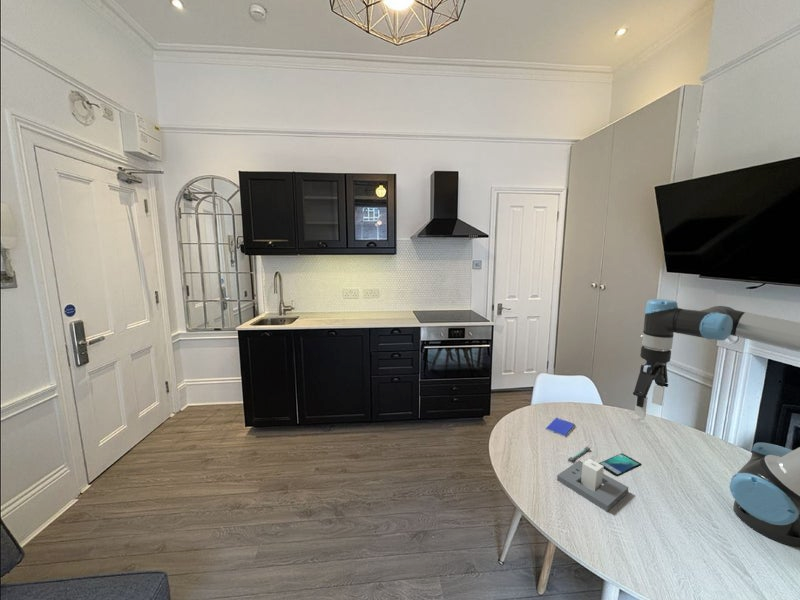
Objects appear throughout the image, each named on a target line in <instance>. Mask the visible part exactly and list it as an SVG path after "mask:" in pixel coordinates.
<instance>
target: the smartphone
mask: <svg viewBox="0 0 800 600" xmlns="http://www.w3.org/2000/svg"><path fill="white" fill-rule="evenodd" d="M598 463H599V464H600V465H602V466H604V468H603V470H605V471H606V472H607V473H610V474H611V475H613V476H615V477H619V476H621V475H623V474H625V473H628V472H629V471H631V470H634V469H636V468H637V467H641V462H639V461H637V460H636V459H634V458H632V457H630V456H628V455H626V454H624V453H619V454H616V455H614V456H612V457H609V458H608V459H605V460H602V461H601V462H598Z"/></svg>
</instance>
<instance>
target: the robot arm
mask: <svg viewBox="0 0 800 600" xmlns="http://www.w3.org/2000/svg"><path fill="white" fill-rule="evenodd" d="M675 333H676V334H681V335H687V336H692V337H697V338H702V339H706V340H716V341H726V340H727V339H728V338H729V337H730V336H733V337H738V338H742V339H746V340H750V341H755V342H759V343H763V344H767V345H771V346H774V347H779V348H783V349H786V350H791V351H795V352H798V353H799V352H800V322H798V321H793V320H787V319H783V318H778V317H772V316H767V315H762V314H758V313H752V312H748V311H747V312H746V311H742V310H737V309H734V308H732V307H731V306H726V305H718V306H716V305H715V306H712V307H709V308H706V309H701V310H696V309H688V308H687V309H685V308H681V307H679V306H678V302H677V301H675V300H670V299H662V298H657V299H654V298H652V299H649V300H648V301H647V302H646V307H645V312H644V321H643V331H642V334H641V335H640V338H642V341H641V345H642V346H640V356H639V357H640V358H642V360H645V361H646V362H645V364H641V366H640V370H639V373H638V377H637V381H636V384H635V387H634V390H633V392H632V395H634V396H636V397H635V405H634V412H633V413H634V415H636V416H639V417H642V418H646V414H647V413H646V412H647V407H648V397H647V396H648V393H649V391H650V388H651V386H652V384H653V381H654V384H653V389H652V399H651V403H652V404H655V405H656V406H657V405H658V406H660V407H661V406H663V403H664V402H663V401H664V394H665V388H668V387H669V380H668V369H667V368H668V367H667V365H668V364H667V363H669V362H670V361H671V357H672V348H673V340H674V334H675ZM729 490H730V492H731V495H732V497H733V499H734V502H733V507H732V509H733V512H734V514H735V515H736V517H737V518H738V517H739V518H740V519H741V520H740V519H739V518H738V519H739V520H740V521H742V523H744V522H745V523H746V524H747V527H749V526H750V527H749V528H751V529H752V528H753V529H752V530H754V531H755V530H756V532H757V533H759V534H761V535H762V534H763V535H762V536H764V535H765V536H764V537H766V536H767V538H769V539H771V540H774V541H776V542H778V543H781V544H785V545H786V546H787V545H788V546H792V547H796V548H800V446H799V447H797V448H795V449H791V448H787V447H784V446H780V445H777V444H773V443H770V442H769V443H767V442H756V443H754V444H753V446H752V448H751V456H750V459H749V460H748V461H747V463H745V465H743V466H742V467H741V469H739V471H737V472H736V473H735V474H733V476H732V477H731V480H730V481H729ZM745 523H744V524H745ZM746 524H745V525H746Z"/></svg>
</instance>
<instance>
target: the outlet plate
mask: <svg viewBox="0 0 800 600" xmlns="http://www.w3.org/2000/svg"><path fill="white" fill-rule="evenodd" d="M583 463H584V462H583V461H581V460H577V461H576V462H574V463H573V464H571V465H570V466H569V467H567V468H566V469H564V470H562V471H561V472H559V473H558V474H557V476H556V477H557V478H556V481H558V482H559V483H561V484H562V485H564V486H566V487H567V488H569V489H570V490H572V491H573V492H575V493H576V494H578V495H580V496H581V497H583V498H584V499H586V500H588V501H589V502H591V503H592V504H594V505H596V506H597V507H598V508H601V509H602V510H603V511H605V512H609V511H610V510H611V509H612V508H613V507H614V506H615V505H616V504H618V503H619V502H620V500H621V499H623V498H624V497H625V496H626V495H627V494H629V486H627V485H626V484H623V483H622V482H619V481H618V480H616V479H614V478H612V477H610V476H608V475H607V474H604V473H603V478H602V487H600V488H599V489H598V490H597V491H595V492H593V491H592V490H590V489H588V488H587V487H585V486H583V485H582V484H581V476H582V465H583Z"/></svg>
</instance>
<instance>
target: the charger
mask: <svg viewBox="0 0 800 600" xmlns="http://www.w3.org/2000/svg"><path fill="white" fill-rule="evenodd" d="M599 463H600V462H597V461H595V460H593V459H591V458H589V459H587V460H586V461H584V462H583V465H582V476H581V482H580V484H582V485H583V486H585V487H587V488H588V489H590V490H592V491H593V492H595V491H597V490H598V489H599V488H600V487H602V486H603V483H602V478H603V474H604V469H603V468H604V466H602V465H600V464H599Z"/></svg>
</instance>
